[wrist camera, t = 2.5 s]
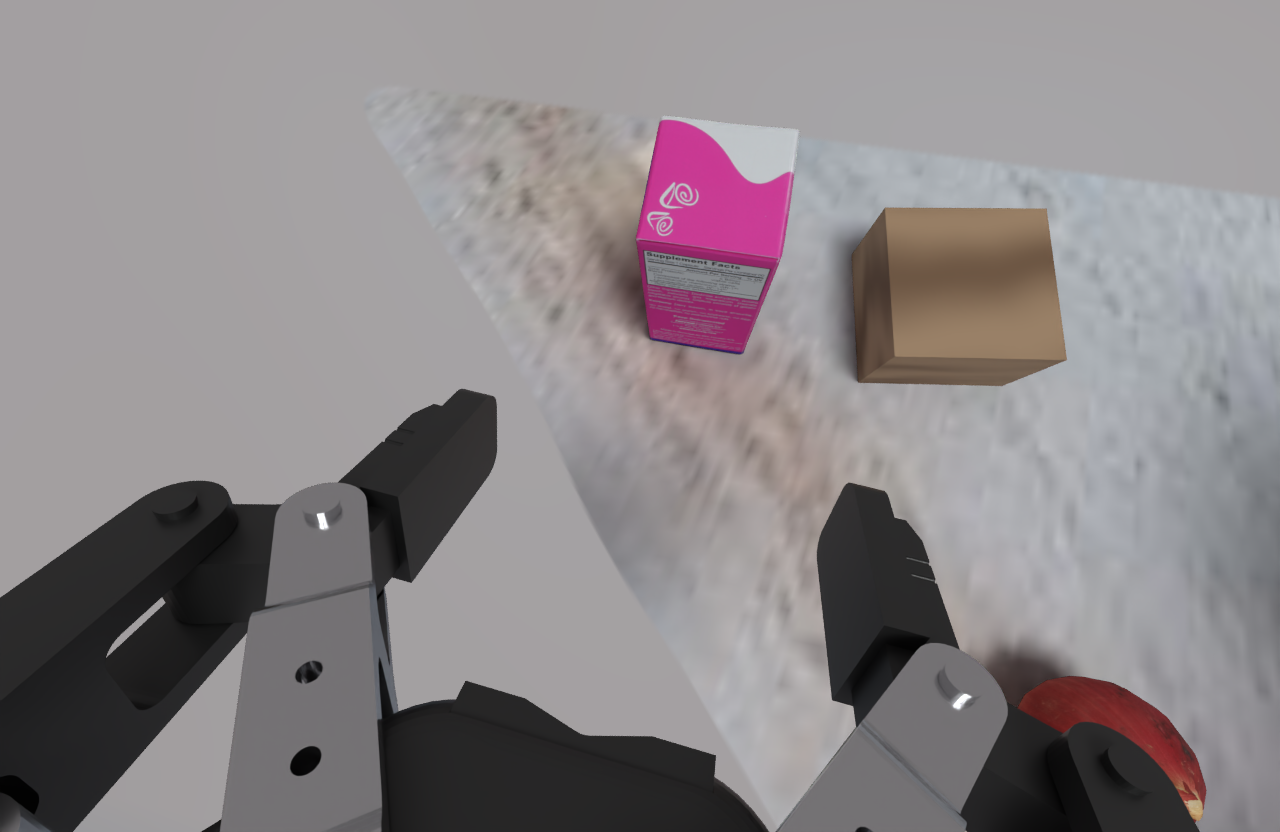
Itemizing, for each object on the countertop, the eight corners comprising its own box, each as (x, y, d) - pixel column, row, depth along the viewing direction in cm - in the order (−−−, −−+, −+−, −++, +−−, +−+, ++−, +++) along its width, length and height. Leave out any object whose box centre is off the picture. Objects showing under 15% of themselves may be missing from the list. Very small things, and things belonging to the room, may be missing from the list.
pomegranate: (1046, 634, 26) (1207, 682, 19) (1123, 742, 25) (1330, 841, 18) (953, 697, 26) (1078, 772, 18) (1028, 808, 25) (1196, 940, 17)
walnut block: (999, 386, 29) (1066, 360, 24) (856, 383, 30) (894, 356, 25) (985, 258, 31) (1046, 208, 26) (850, 256, 31) (884, 207, 26)
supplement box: (662, 253, 32) (661, 106, 21) (758, 268, 31) (811, 126, 20) (644, 341, 31) (633, 237, 19) (743, 358, 30) (790, 261, 19)
